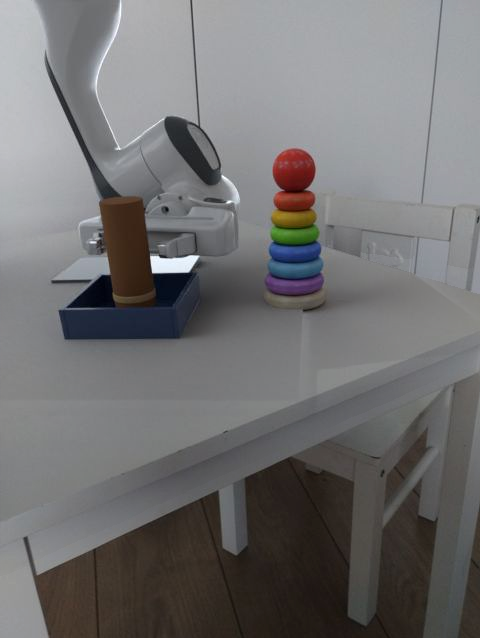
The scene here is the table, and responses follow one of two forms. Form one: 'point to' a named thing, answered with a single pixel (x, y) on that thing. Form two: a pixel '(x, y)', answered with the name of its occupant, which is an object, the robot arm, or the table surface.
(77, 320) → the tray
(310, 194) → the stacking toy
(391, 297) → the table surface
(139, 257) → the rolled mat
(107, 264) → the board
